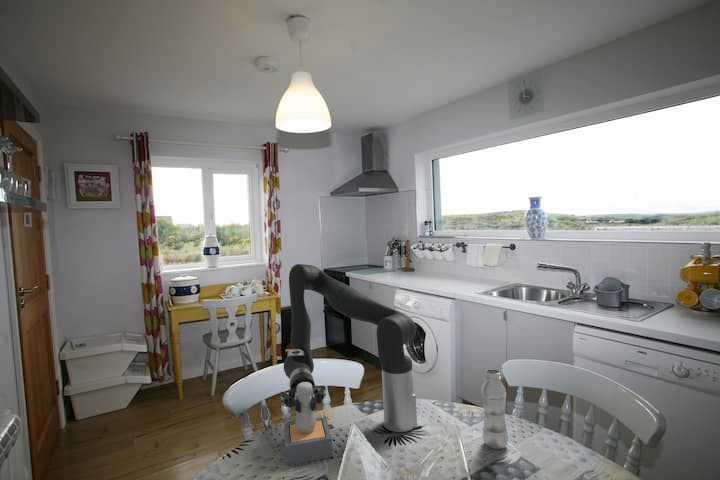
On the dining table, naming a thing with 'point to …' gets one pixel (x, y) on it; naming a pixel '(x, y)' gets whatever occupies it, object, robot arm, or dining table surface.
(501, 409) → the plastic bottle
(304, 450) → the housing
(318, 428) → the orange block
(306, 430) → the salt shaker
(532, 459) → the dining table surface
